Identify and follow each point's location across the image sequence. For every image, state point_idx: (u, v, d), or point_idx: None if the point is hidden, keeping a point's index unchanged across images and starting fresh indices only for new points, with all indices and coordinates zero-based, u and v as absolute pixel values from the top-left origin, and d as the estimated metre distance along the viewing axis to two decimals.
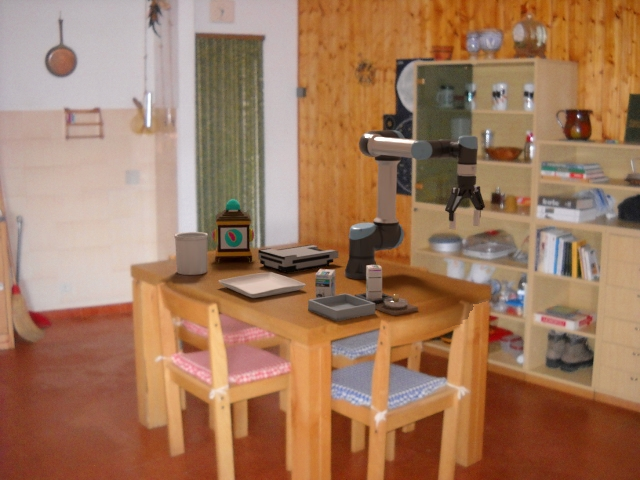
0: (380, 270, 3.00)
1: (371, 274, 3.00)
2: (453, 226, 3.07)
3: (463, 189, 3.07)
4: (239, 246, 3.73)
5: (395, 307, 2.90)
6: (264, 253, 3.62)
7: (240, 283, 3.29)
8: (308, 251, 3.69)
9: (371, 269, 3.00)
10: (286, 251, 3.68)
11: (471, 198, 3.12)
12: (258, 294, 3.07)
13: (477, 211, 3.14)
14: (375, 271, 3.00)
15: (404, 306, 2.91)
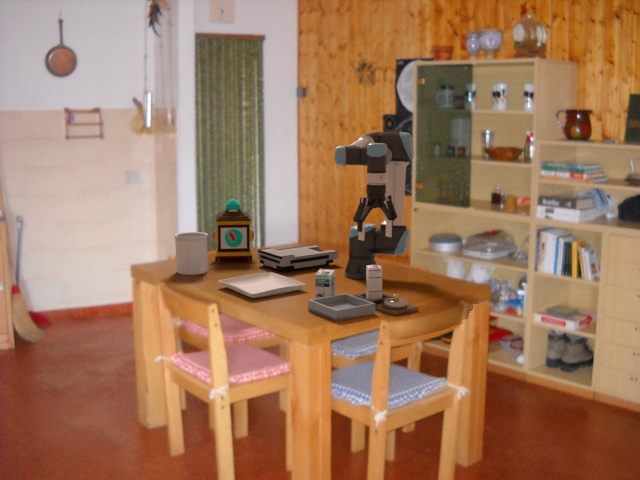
0: (380, 270, 3.00)
1: (371, 274, 3.00)
2: (362, 237, 2.95)
3: (372, 198, 2.95)
4: (239, 246, 3.73)
5: (395, 307, 2.90)
6: (263, 253, 3.63)
7: (240, 283, 3.29)
8: (308, 251, 3.68)
9: (371, 269, 3.00)
10: (286, 251, 3.69)
11: (382, 208, 3.00)
12: (258, 294, 3.07)
13: (389, 221, 3.02)
14: (375, 271, 3.00)
15: (404, 306, 2.91)
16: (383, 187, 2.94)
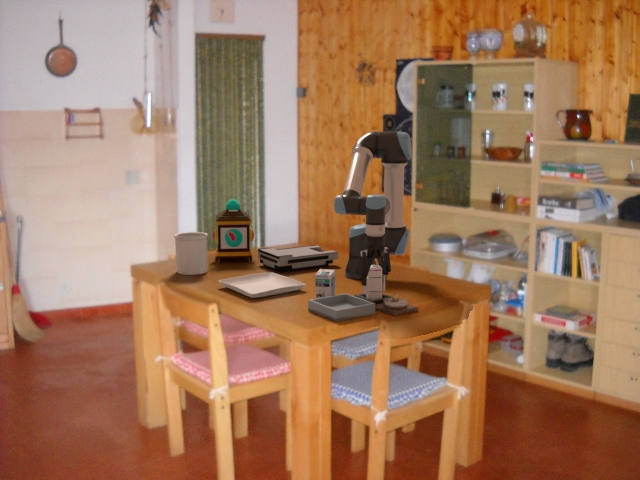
0: (380, 270, 3.00)
1: (371, 274, 3.00)
2: (366, 291, 3.01)
3: (371, 249, 2.99)
4: (239, 246, 3.73)
5: (395, 307, 2.90)
6: (263, 252, 3.64)
7: (240, 283, 3.29)
8: (308, 251, 3.68)
9: (371, 269, 3.00)
10: (286, 251, 3.69)
11: (379, 259, 3.03)
12: (258, 294, 3.07)
13: (382, 276, 3.05)
14: (375, 271, 3.00)
15: (404, 306, 2.91)
16: (382, 238, 2.98)
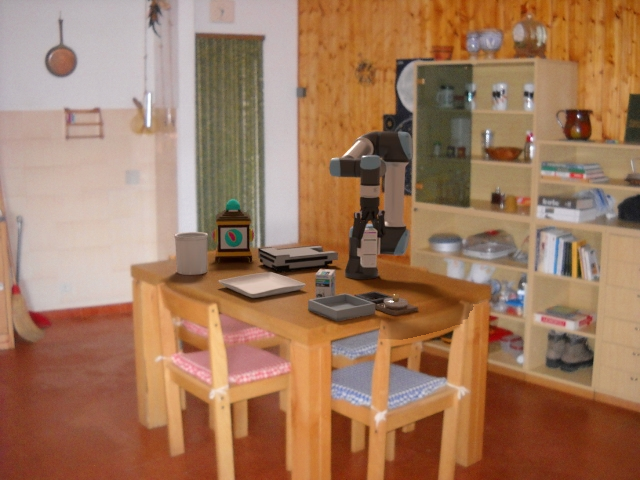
0: (375, 232, 2.94)
1: (366, 237, 2.94)
2: (360, 253, 2.95)
3: (365, 211, 2.93)
4: (239, 246, 3.73)
5: (395, 307, 2.90)
6: (262, 252, 3.65)
7: (240, 283, 3.29)
8: (308, 251, 3.68)
9: (366, 231, 2.94)
10: (286, 250, 3.70)
11: (373, 222, 2.97)
12: (258, 294, 3.07)
13: (377, 239, 2.99)
14: (370, 233, 2.94)
15: (404, 306, 2.91)
16: (377, 200, 2.92)
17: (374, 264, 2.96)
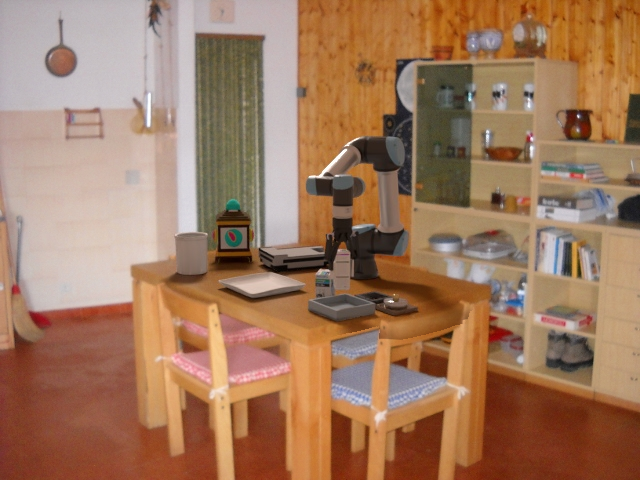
0: (348, 254, 2.84)
1: (339, 259, 2.84)
2: (333, 276, 2.85)
3: (338, 232, 2.83)
4: (239, 246, 3.73)
5: (395, 307, 2.90)
6: (262, 251, 3.66)
7: (240, 283, 3.29)
8: (307, 251, 3.68)
9: (339, 253, 2.84)
10: (286, 250, 3.70)
11: (346, 243, 2.87)
12: (258, 294, 3.07)
13: (351, 260, 2.89)
14: (343, 255, 2.84)
15: (404, 306, 2.91)
16: (349, 221, 2.82)
17: (347, 287, 2.86)
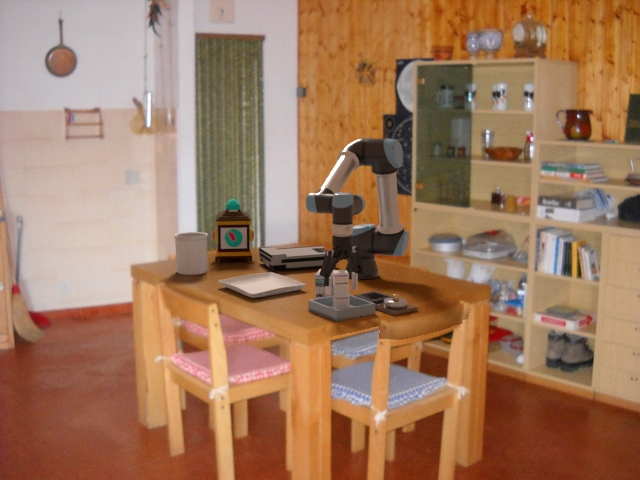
0: (346, 275, 2.86)
1: (338, 280, 2.86)
2: (329, 291, 2.85)
3: (338, 250, 2.84)
4: (239, 246, 3.73)
5: (395, 307, 2.90)
6: (262, 251, 3.67)
7: (240, 283, 3.29)
8: (307, 252, 3.67)
9: (337, 275, 2.85)
10: (286, 250, 3.70)
11: (348, 260, 2.89)
12: (258, 294, 3.07)
13: (355, 274, 2.91)
14: (341, 277, 2.86)
15: (404, 306, 2.91)
16: (349, 239, 2.83)
17: None
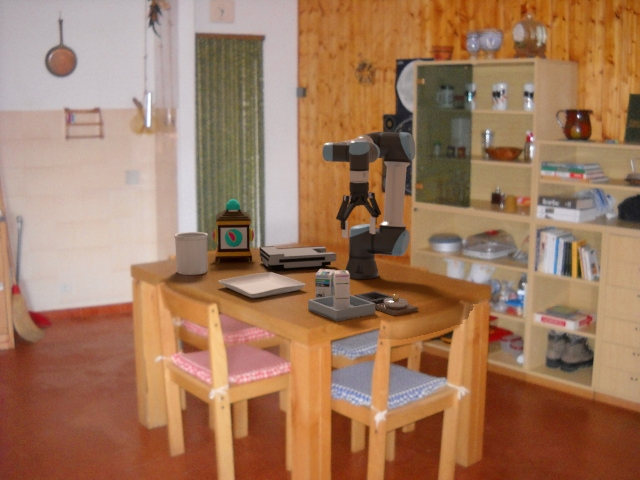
0: (347, 276, 2.86)
1: (338, 280, 2.86)
2: (345, 235, 2.96)
3: (355, 196, 2.95)
4: (239, 246, 3.73)
5: (395, 307, 2.90)
6: (261, 250, 3.68)
7: (240, 283, 3.29)
8: (307, 252, 3.67)
9: (338, 275, 2.86)
10: (286, 250, 3.71)
11: (365, 205, 3.00)
12: (258, 294, 3.07)
13: (372, 218, 3.03)
14: (342, 277, 2.86)
15: (404, 306, 2.91)
16: (366, 185, 2.94)
17: None
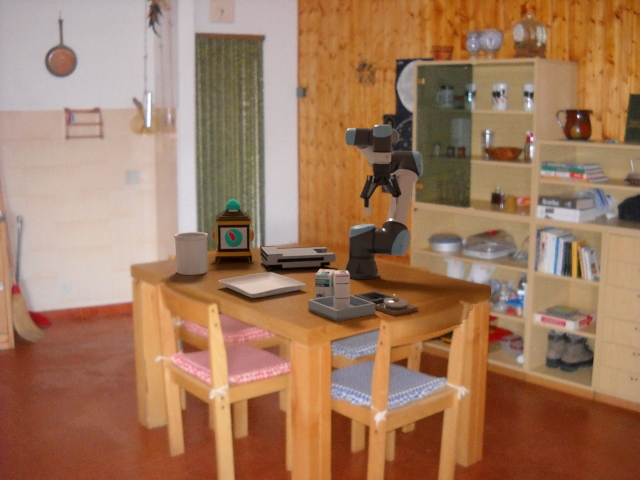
0: (347, 276, 2.86)
1: (338, 280, 2.86)
2: (368, 212, 3.16)
3: (378, 176, 3.16)
4: (239, 246, 3.73)
5: (395, 307, 2.90)
6: (262, 250, 3.69)
7: (240, 283, 3.29)
8: (307, 252, 3.67)
9: (338, 275, 2.86)
10: (287, 250, 3.71)
11: (387, 185, 3.21)
12: (258, 294, 3.07)
13: (393, 198, 3.23)
14: (342, 277, 2.86)
15: (404, 306, 2.91)
16: (388, 166, 3.15)
17: None
